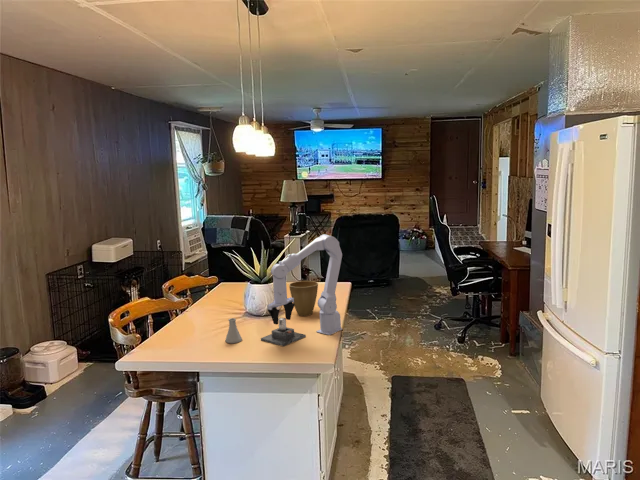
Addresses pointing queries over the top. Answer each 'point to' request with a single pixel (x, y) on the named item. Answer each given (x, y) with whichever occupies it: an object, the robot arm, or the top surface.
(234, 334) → the flask
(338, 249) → the robot arm
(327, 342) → the top surface
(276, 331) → the charcoal stand
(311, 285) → the plant pot
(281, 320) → the steel column
